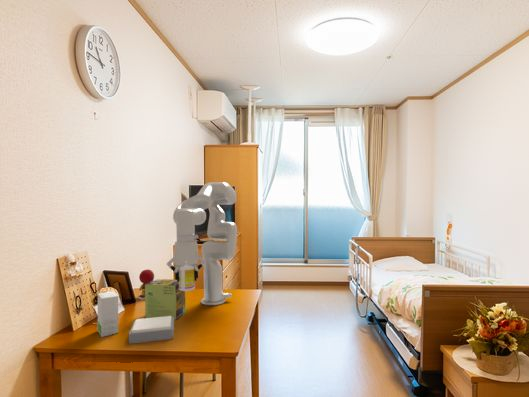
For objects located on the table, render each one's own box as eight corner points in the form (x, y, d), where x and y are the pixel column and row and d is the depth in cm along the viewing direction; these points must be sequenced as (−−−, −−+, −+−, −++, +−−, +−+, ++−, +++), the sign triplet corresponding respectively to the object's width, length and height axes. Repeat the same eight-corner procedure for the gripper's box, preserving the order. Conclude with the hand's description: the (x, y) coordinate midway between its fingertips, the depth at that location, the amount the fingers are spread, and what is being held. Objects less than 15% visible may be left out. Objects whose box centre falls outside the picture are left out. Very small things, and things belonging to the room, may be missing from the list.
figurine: (158, 294, 187) (157, 268, 187) (148, 300, 177) (147, 272, 177) (144, 294, 189) (144, 267, 189) (134, 299, 179) (133, 271, 179)
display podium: (174, 325, 142) (173, 314, 142) (173, 338, 128) (172, 327, 128) (134, 329, 138) (134, 318, 138) (128, 343, 125) (128, 331, 125)
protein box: (176, 320, 148) (175, 285, 148) (144, 318, 151) (144, 284, 151) (186, 312, 158) (185, 279, 158) (156, 310, 161) (156, 278, 161)
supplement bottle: (197, 287, 142) (197, 257, 142) (189, 292, 136) (189, 260, 136) (184, 286, 144) (183, 257, 144) (175, 290, 138) (175, 260, 138)
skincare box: (97, 331, 137) (96, 293, 137) (114, 326, 141) (113, 290, 141) (101, 337, 131) (100, 298, 130) (119, 333, 135) (118, 294, 134)
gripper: (206, 236, 146) (206, 277, 146) (164, 238, 142) (165, 280, 142) (207, 238, 138) (208, 281, 139) (163, 240, 134) (164, 284, 134)
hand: (186, 280), depth 140 cm, fingers closed on supplement bottle, 6 cm apart
